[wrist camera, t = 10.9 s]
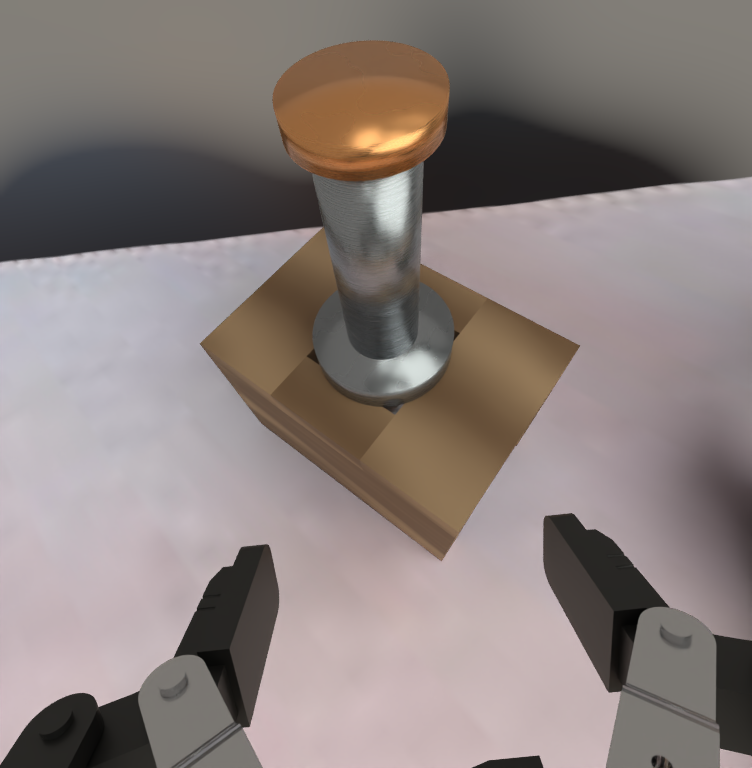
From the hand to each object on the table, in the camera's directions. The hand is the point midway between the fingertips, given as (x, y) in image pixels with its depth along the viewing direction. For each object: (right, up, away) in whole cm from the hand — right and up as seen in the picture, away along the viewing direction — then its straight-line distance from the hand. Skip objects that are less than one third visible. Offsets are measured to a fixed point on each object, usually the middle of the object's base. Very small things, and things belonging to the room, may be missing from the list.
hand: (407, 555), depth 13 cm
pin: (0, +3, +17) cm, 17 cm away
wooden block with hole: (0, +2, +19) cm, 20 cm away
